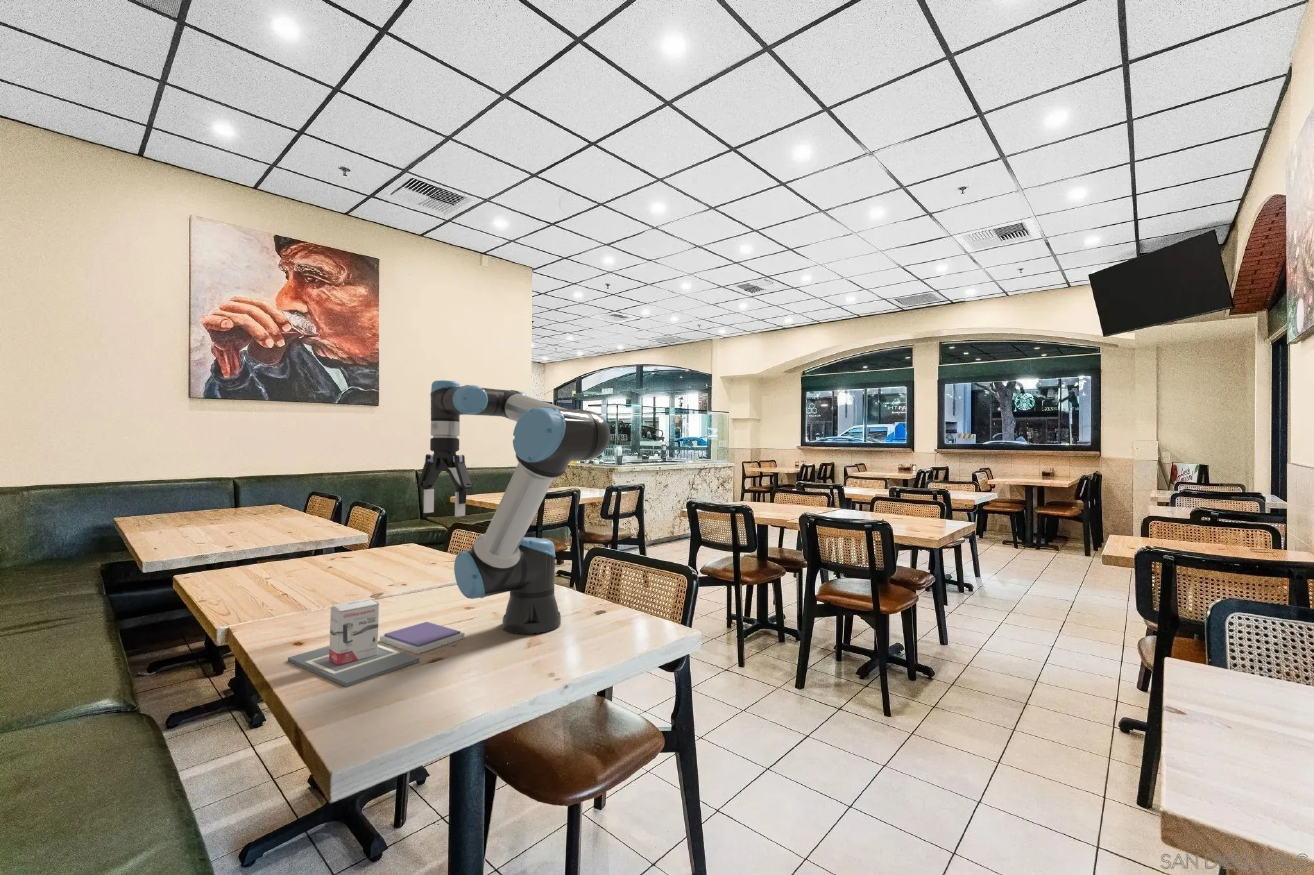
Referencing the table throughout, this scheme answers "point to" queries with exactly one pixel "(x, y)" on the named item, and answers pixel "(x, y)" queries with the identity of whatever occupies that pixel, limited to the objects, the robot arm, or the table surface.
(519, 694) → the table surface
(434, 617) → the table surface
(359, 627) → the ink box
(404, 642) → the ink pad
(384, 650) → the slate board
